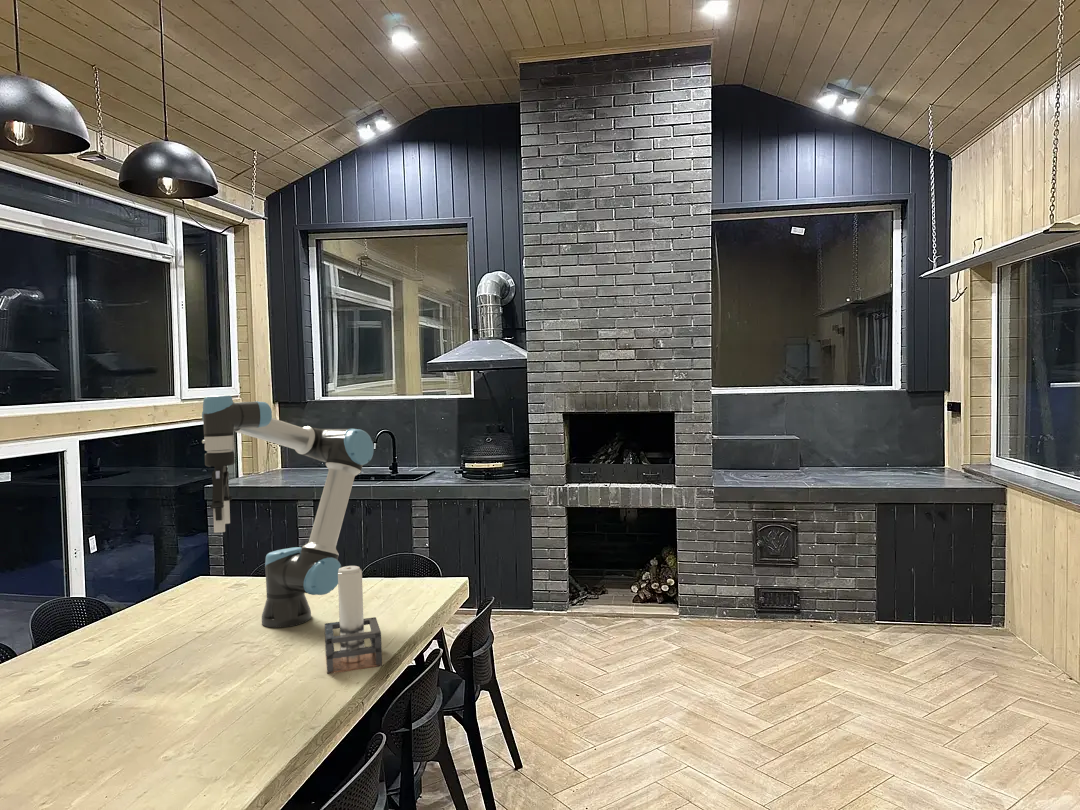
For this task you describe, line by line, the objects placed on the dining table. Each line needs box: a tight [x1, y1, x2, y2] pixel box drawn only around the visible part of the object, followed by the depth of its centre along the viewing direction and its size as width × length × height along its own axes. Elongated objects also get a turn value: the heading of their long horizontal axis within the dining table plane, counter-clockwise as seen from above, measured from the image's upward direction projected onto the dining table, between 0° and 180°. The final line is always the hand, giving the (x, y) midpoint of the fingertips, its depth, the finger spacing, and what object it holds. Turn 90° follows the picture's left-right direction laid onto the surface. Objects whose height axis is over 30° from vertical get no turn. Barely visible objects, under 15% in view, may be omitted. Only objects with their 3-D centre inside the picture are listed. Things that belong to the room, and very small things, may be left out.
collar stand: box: [324, 616, 383, 675], centre depth 194 cm, size 14×14×9 cm
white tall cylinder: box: [337, 565, 365, 663], centre depth 193 cm, size 6×6×25 cm
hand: (222, 527), depth 197 cm, fingers open, 13 cm apart
